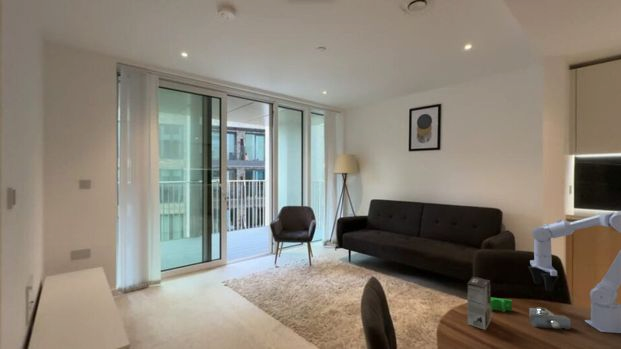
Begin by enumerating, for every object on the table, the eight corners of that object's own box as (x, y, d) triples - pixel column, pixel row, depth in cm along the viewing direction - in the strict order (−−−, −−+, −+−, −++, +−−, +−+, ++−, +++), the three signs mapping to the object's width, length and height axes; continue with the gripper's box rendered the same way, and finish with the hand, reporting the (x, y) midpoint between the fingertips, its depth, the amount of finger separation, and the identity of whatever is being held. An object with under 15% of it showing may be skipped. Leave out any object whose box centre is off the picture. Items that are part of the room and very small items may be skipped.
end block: (565, 325, 110) (565, 315, 110) (574, 331, 106) (574, 322, 106) (530, 323, 112) (530, 314, 112) (537, 329, 108) (537, 320, 108)
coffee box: (473, 315, 119) (472, 276, 119) (491, 321, 114) (491, 279, 114) (467, 324, 112) (466, 282, 112) (486, 330, 108) (485, 286, 108)
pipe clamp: (482, 310, 124) (482, 299, 124) (481, 306, 127) (480, 295, 127) (513, 314, 120) (513, 303, 120) (511, 310, 123) (511, 299, 123)
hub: (546, 317, 117) (545, 306, 117) (556, 325, 111) (556, 313, 111) (529, 316, 118) (529, 305, 118) (538, 324, 112) (538, 312, 112)
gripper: (522, 250, 131) (523, 280, 131) (543, 259, 117) (543, 293, 117) (540, 250, 130) (540, 281, 130) (562, 260, 115) (563, 294, 116)
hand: (543, 287), depth 123 cm, fingers open, 7 cm apart
